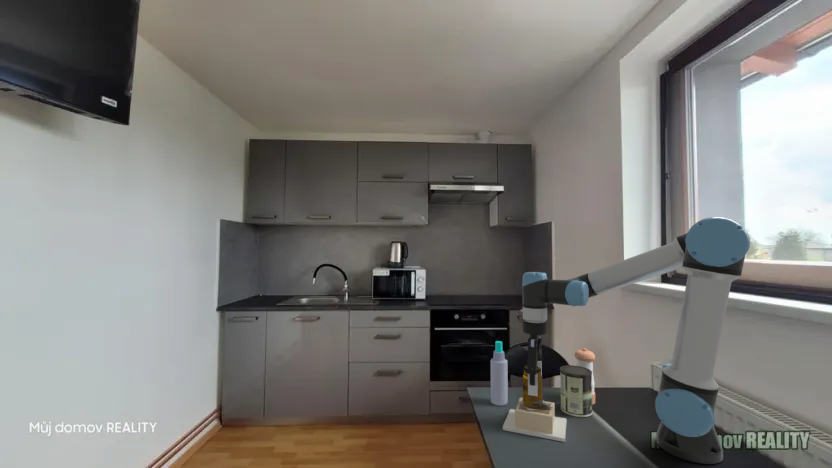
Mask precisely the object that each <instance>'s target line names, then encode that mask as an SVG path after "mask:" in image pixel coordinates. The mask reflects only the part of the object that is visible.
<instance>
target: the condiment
mask: <svg viewBox="0 0 832 468" xmlns="http://www.w3.org/2000/svg"><path fill="white" fill-rule="evenodd" d="M525 370H526V371H527V365H525V366H524V367H523V375H522V398H523V401H519V400H518V401H519V402H520V403H521V404H522V405H523V406H524V407H525V408H526V409H527V410H541V409H550V408H553V407H551V406H550V405H548V404H547V403H546V402H547V401H546V402H545V400H544V399H543V397H544V396H543V392H544V391H543V376H541V368H540V367H538V366H537V383H538V396H532V395H528V374H527V373H525ZM531 370H534V369H531Z"/></svg>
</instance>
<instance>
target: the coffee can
mask: <svg viewBox="0 0 832 468" xmlns="http://www.w3.org/2000/svg"><path fill="white" fill-rule="evenodd" d="M559 371H560V372H559V373H560V375H559V376H560V410H561V411H562V412H563V413H565V414H567V415H568V416H571V417H577V418H587V417H591V416H592V415H593V405H592V371H591V370H589V369H587V368H585V367H581V366H577V365H573V364H569V365H563V366H560V367H559Z"/></svg>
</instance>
